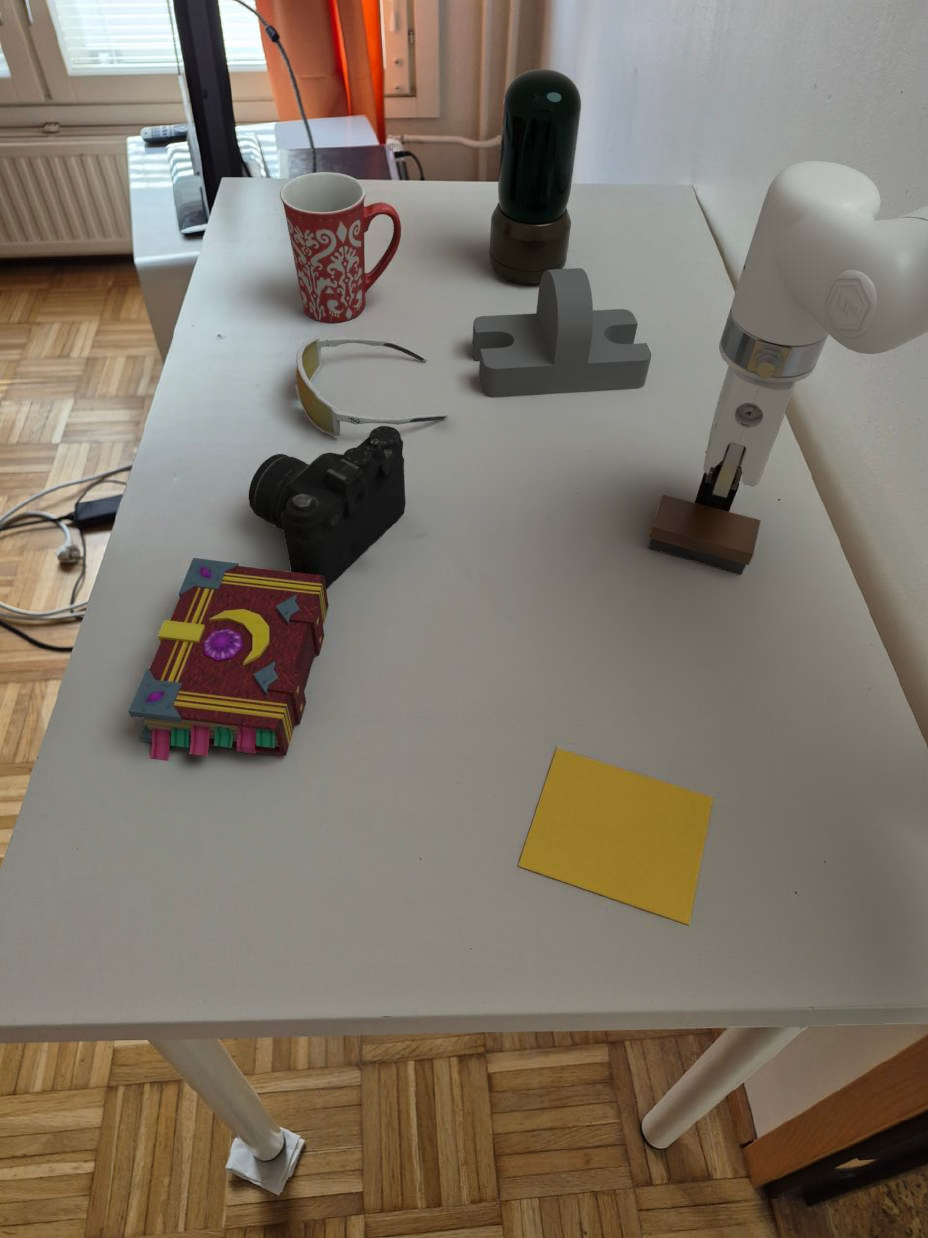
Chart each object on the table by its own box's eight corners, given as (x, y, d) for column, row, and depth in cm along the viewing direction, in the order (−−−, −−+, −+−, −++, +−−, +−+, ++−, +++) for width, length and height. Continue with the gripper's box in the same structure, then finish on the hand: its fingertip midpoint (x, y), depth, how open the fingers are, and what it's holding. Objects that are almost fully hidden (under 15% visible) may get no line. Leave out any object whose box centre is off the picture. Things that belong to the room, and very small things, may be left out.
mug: (293, 329, 101) (277, 212, 90) (295, 285, 106) (281, 171, 96) (404, 327, 102) (402, 211, 91) (400, 283, 107) (398, 170, 97)
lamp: (556, 247, 114) (579, 55, 97) (572, 287, 108) (599, 90, 91) (483, 249, 113) (493, 56, 96) (494, 290, 107) (507, 92, 90)
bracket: (647, 387, 96) (668, 297, 88) (483, 397, 94) (489, 306, 86) (625, 336, 102) (643, 247, 94) (470, 344, 100) (474, 254, 91)
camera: (333, 464, 87) (323, 378, 79) (419, 510, 83) (419, 426, 75) (231, 547, 79) (209, 462, 72) (321, 602, 76) (309, 519, 68)
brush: (751, 542, 82) (760, 519, 80) (743, 576, 79) (753, 554, 77) (655, 516, 84) (662, 493, 81) (645, 549, 81) (651, 526, 79)
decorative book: (332, 608, 75) (327, 568, 71) (286, 775, 65) (277, 740, 61) (202, 592, 76) (190, 553, 72) (136, 756, 66) (118, 720, 62)
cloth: (712, 798, 65) (713, 797, 65) (688, 925, 59) (689, 924, 59) (556, 749, 68) (556, 747, 67) (517, 866, 62) (518, 865, 61)
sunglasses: (286, 365, 96) (287, 324, 92) (420, 365, 100) (426, 326, 97) (304, 450, 87) (306, 409, 84) (450, 446, 92) (458, 407, 88)
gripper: (811, 407, 63) (738, 575, 78) (830, 299, 72) (762, 468, 87) (707, 382, 65) (654, 551, 79) (739, 278, 73) (686, 448, 88)
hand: (711, 507), depth 83 cm, fingers closed
